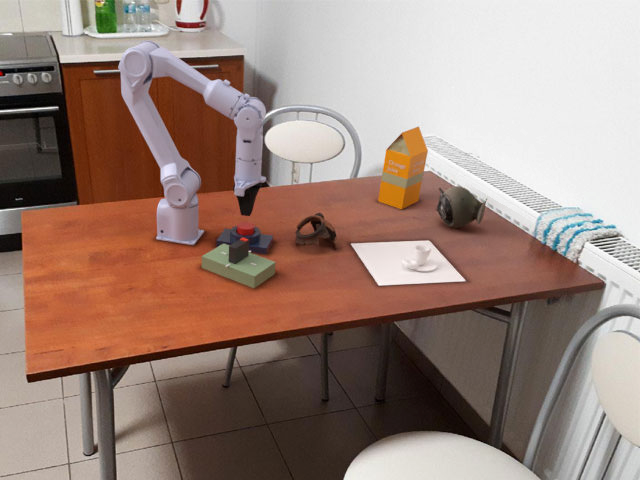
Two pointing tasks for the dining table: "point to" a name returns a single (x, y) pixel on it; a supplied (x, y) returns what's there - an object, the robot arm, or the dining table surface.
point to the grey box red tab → (238, 250)
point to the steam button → (245, 228)
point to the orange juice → (403, 170)
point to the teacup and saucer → (406, 263)
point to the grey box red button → (256, 240)
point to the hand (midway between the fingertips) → (246, 214)
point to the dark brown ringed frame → (316, 231)
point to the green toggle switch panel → (239, 266)
